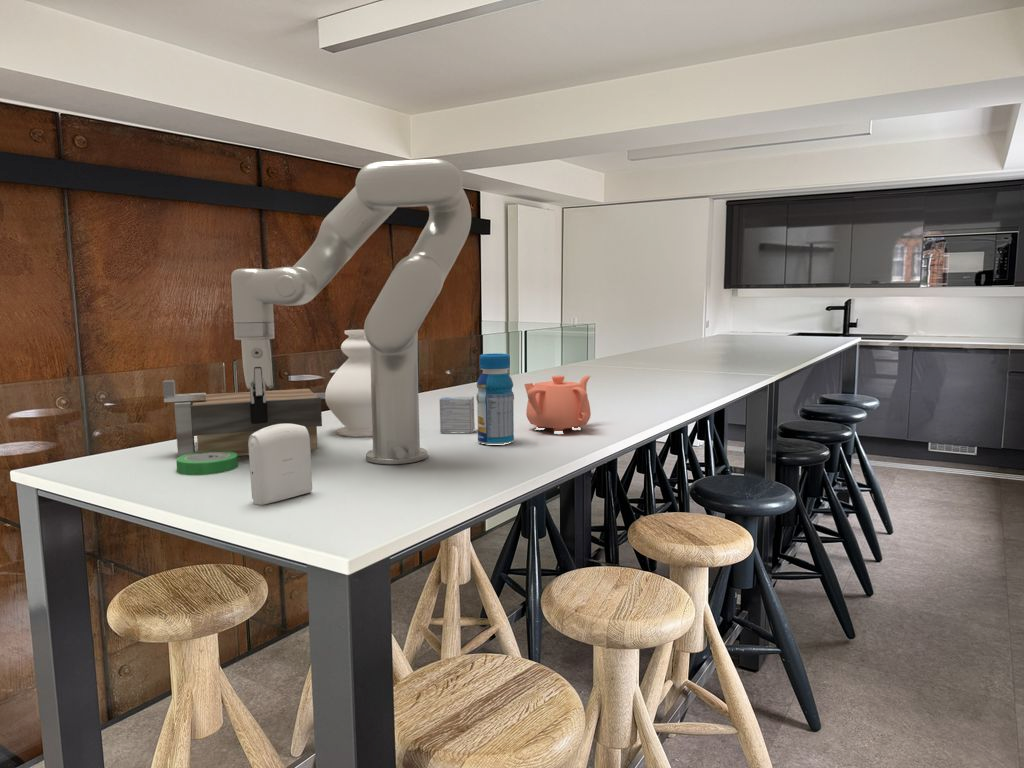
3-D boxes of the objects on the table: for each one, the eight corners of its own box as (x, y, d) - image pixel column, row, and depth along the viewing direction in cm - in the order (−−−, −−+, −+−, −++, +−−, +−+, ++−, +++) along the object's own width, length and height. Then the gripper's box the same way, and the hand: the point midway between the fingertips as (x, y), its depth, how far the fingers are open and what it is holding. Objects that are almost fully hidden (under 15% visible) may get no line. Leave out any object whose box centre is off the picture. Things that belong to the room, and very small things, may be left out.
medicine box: (475, 430, 177) (474, 395, 176) (472, 434, 173) (471, 398, 172) (443, 430, 178) (442, 395, 177) (439, 433, 173) (439, 398, 172)
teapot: (524, 424, 184) (524, 372, 183) (590, 423, 185) (590, 371, 183) (527, 436, 168) (526, 379, 167) (598, 436, 169) (599, 379, 167)
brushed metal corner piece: (205, 399, 152) (204, 379, 151) (164, 402, 149) (162, 381, 148) (206, 398, 155) (205, 378, 154) (165, 400, 152) (163, 380, 151)
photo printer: (261, 507, 114) (257, 430, 113) (247, 502, 117) (243, 427, 115) (316, 493, 122) (313, 421, 120) (302, 489, 125) (298, 419, 123)
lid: (322, 426, 152) (320, 398, 151) (192, 435, 142) (190, 406, 142) (310, 410, 173) (308, 385, 172) (196, 418, 164) (195, 391, 163)
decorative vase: (384, 422, 189) (381, 327, 186) (412, 433, 174) (409, 330, 171) (317, 430, 180) (313, 330, 177) (340, 442, 165) (336, 333, 162)
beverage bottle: (502, 448, 156) (501, 356, 154) (469, 444, 160) (468, 355, 158) (521, 441, 164) (520, 353, 161) (489, 437, 168) (488, 352, 165)
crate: (317, 449, 157) (315, 397, 156) (177, 461, 147) (173, 406, 146) (307, 433, 176) (305, 387, 174) (182, 442, 165) (179, 394, 164)
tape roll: (250, 465, 144) (249, 452, 144) (210, 478, 134) (209, 464, 134) (206, 461, 148) (205, 448, 148) (164, 474, 138) (163, 460, 137)
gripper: (277, 332, 137) (282, 427, 139) (271, 329, 150) (275, 415, 153) (235, 334, 134) (240, 430, 136) (233, 330, 147) (238, 418, 150)
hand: (259, 422), depth 144 cm, fingers closed
